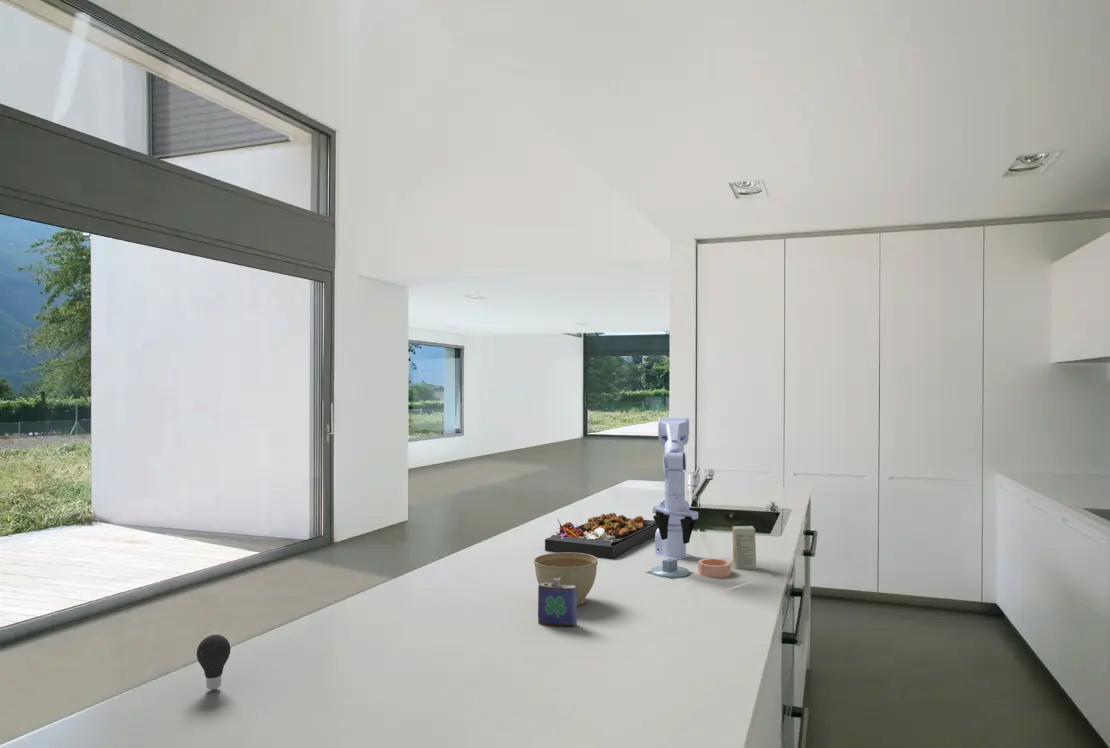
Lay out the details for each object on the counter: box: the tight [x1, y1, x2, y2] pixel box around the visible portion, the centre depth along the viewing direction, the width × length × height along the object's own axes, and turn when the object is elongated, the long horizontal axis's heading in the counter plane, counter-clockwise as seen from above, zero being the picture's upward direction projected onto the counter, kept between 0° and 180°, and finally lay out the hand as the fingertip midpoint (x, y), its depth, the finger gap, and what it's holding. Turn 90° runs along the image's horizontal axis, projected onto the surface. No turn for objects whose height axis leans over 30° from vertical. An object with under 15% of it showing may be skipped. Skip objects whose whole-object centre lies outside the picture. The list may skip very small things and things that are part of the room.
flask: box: [537, 578, 578, 628], centre depth 168 cm, size 9×3×11 cm, turn 74°
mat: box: [644, 570, 695, 580], centre depth 211 cm, size 10×10×1 cm
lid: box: [650, 558, 690, 579], centre depth 211 cm, size 11×11×4 cm
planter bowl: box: [533, 552, 599, 606], centre depth 185 cm, size 16×16×11 cm
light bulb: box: [196, 634, 231, 692], centre depth 133 cm, size 6×6×10 cm
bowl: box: [697, 557, 732, 578], centre depth 210 cm, size 9×9×3 cm
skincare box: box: [732, 525, 757, 571], centre depth 217 cm, size 6×4×12 cm
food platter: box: [544, 512, 658, 560], centre depth 254 cm, size 45×25×10 cm, turn 151°
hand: (675, 541), depth 211 cm, fingers open, 7 cm apart
